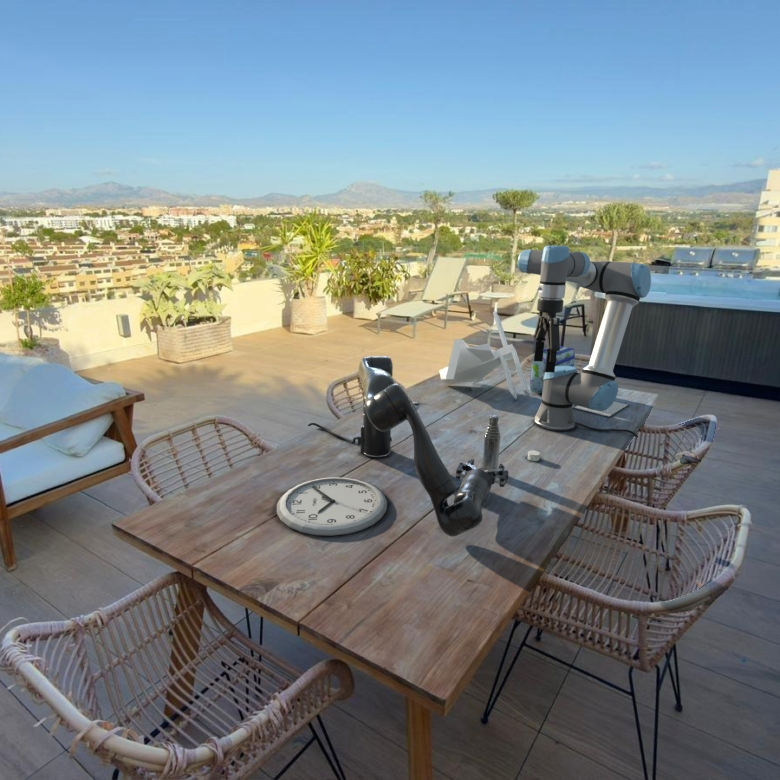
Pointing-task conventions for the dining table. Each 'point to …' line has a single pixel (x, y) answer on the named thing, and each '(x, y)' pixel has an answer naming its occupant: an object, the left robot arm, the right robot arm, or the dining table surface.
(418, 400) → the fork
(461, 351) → the white plastic object
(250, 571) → the dining table surface
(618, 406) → the invitation card
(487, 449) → the bottle
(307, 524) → the wall clock
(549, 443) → the dining table surface
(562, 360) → the lunch box
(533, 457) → the cap
